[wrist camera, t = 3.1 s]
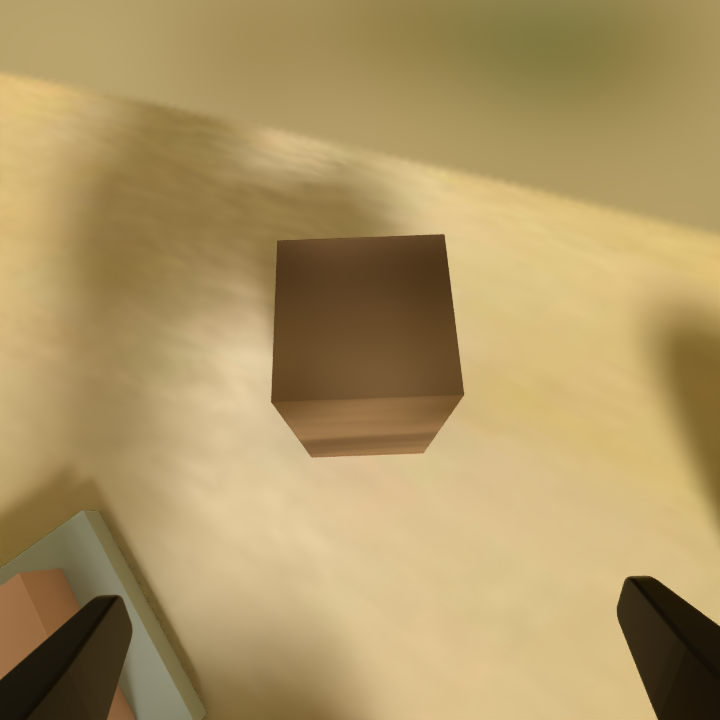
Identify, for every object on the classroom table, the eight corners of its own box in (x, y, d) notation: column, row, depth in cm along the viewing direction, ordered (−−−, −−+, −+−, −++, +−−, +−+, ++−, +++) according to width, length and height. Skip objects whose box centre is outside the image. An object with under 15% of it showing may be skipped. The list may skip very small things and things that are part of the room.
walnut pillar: (423, 453, 22) (464, 394, 13) (311, 457, 22) (271, 402, 13) (414, 350, 24) (444, 234, 15) (312, 354, 24) (277, 240, 15)
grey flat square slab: (213, 706, 19) (196, 725, 17) (-13, 902, 17) (-60, 948, 15) (106, 511, 22) (82, 509, 20) (-98, 658, 20) (-146, 671, 18)
